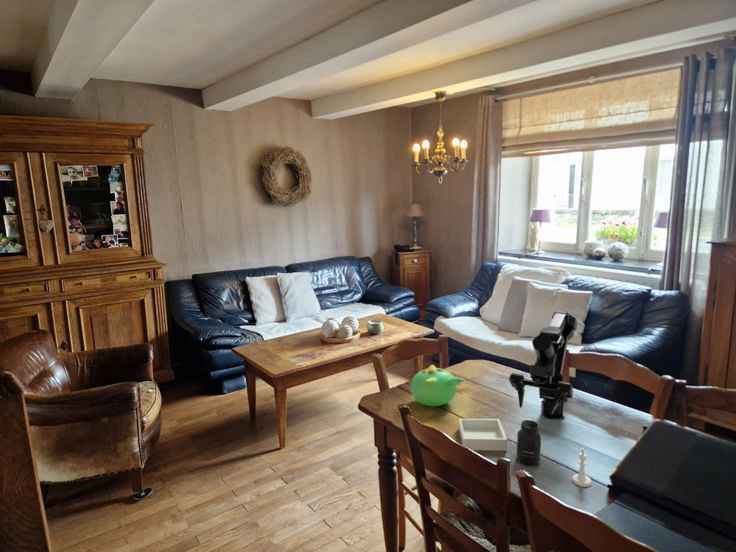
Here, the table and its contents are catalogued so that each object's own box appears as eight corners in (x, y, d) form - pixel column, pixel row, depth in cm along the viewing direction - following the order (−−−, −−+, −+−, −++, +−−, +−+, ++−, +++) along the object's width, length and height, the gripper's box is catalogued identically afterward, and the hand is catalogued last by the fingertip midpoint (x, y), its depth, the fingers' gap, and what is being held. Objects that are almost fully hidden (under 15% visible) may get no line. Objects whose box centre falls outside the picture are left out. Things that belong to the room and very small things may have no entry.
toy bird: (444, 391, 191) (444, 357, 188) (466, 408, 175) (466, 371, 173) (404, 399, 185) (403, 364, 182) (423, 417, 169) (423, 379, 167)
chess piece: (585, 475, 132) (587, 443, 130) (594, 486, 127) (596, 452, 125) (568, 476, 132) (570, 444, 130) (577, 487, 127) (578, 453, 125)
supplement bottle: (524, 468, 136) (525, 430, 134) (511, 456, 143) (512, 420, 141) (545, 464, 138) (546, 427, 136) (531, 452, 144) (532, 416, 142)
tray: (498, 429, 159) (499, 418, 159) (507, 450, 146) (507, 439, 145) (458, 428, 160) (458, 418, 160) (463, 450, 147) (463, 439, 146)
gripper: (511, 349, 151) (500, 393, 143) (573, 358, 141) (564, 407, 133) (517, 364, 158) (507, 407, 151) (576, 374, 148) (568, 421, 141)
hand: (535, 410), depth 144 cm, fingers open, 9 cm apart
